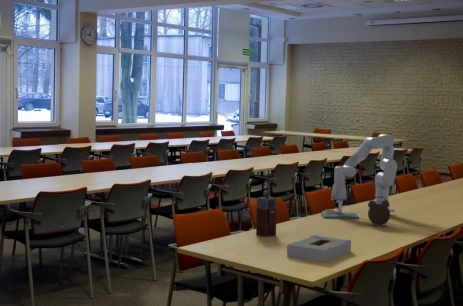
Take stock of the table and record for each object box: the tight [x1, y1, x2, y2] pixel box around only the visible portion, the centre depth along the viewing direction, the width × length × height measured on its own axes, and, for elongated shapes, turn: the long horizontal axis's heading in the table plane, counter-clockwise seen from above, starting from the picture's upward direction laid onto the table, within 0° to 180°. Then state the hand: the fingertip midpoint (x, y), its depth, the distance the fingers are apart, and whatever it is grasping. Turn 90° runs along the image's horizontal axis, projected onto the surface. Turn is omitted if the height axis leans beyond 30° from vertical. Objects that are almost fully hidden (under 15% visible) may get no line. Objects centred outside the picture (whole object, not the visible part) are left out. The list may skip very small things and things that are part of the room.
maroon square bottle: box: [255, 189, 278, 238], centre depth 383 cm, size 9×11×28 cm
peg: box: [324, 200, 343, 214], centre depth 453 cm, size 13×6×9 cm, turn 105°
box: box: [286, 234, 352, 264], centre depth 336 cm, size 23×8×32 cm
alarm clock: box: [367, 196, 391, 227], centre depth 416 cm, size 15×7×20 cm, turn 84°
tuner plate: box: [320, 211, 360, 220], centre depth 450 cm, size 25×16×3 cm, turn 89°
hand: (338, 207), depth 454 cm, fingers closed on peg, 2 cm apart
